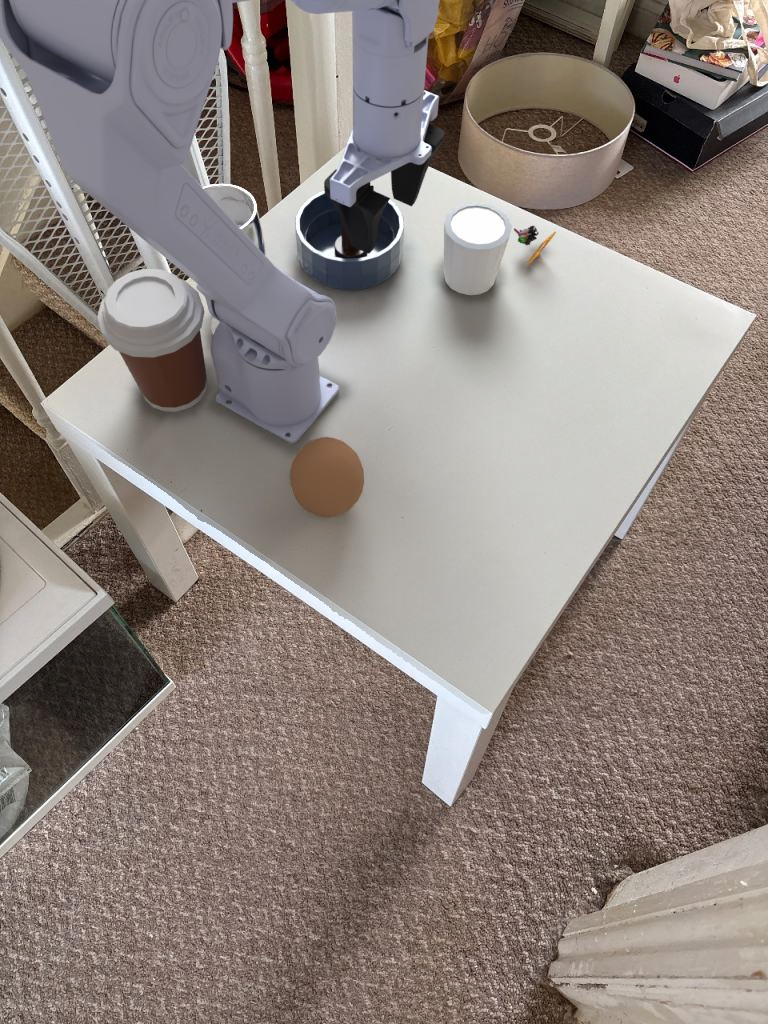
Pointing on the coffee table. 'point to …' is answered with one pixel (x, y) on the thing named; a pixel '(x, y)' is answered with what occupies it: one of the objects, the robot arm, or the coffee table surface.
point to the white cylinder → (474, 247)
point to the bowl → (318, 237)
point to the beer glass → (238, 215)
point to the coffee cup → (157, 336)
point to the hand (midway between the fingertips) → (383, 223)
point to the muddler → (346, 246)
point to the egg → (326, 477)
